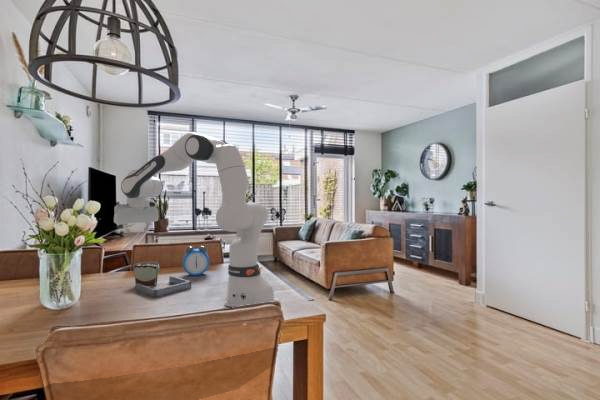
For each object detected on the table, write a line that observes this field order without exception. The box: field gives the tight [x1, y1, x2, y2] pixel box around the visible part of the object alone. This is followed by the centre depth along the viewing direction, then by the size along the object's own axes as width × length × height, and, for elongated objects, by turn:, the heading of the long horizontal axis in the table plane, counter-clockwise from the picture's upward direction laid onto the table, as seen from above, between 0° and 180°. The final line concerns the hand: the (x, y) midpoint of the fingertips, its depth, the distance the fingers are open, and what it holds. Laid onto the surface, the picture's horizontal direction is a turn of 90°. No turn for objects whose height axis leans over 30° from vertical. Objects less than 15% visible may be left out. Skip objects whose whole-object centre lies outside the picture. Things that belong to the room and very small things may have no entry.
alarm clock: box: [182, 245, 210, 277], centre depth 166 cm, size 13×6×15 cm, turn 108°
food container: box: [132, 261, 161, 288], centre depth 148 cm, size 12×6×10 cm, turn 84°
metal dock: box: [135, 275, 192, 299], centre depth 141 cm, size 16×17×3 cm
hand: (137, 231), depth 154 cm, fingers open, 8 cm apart
